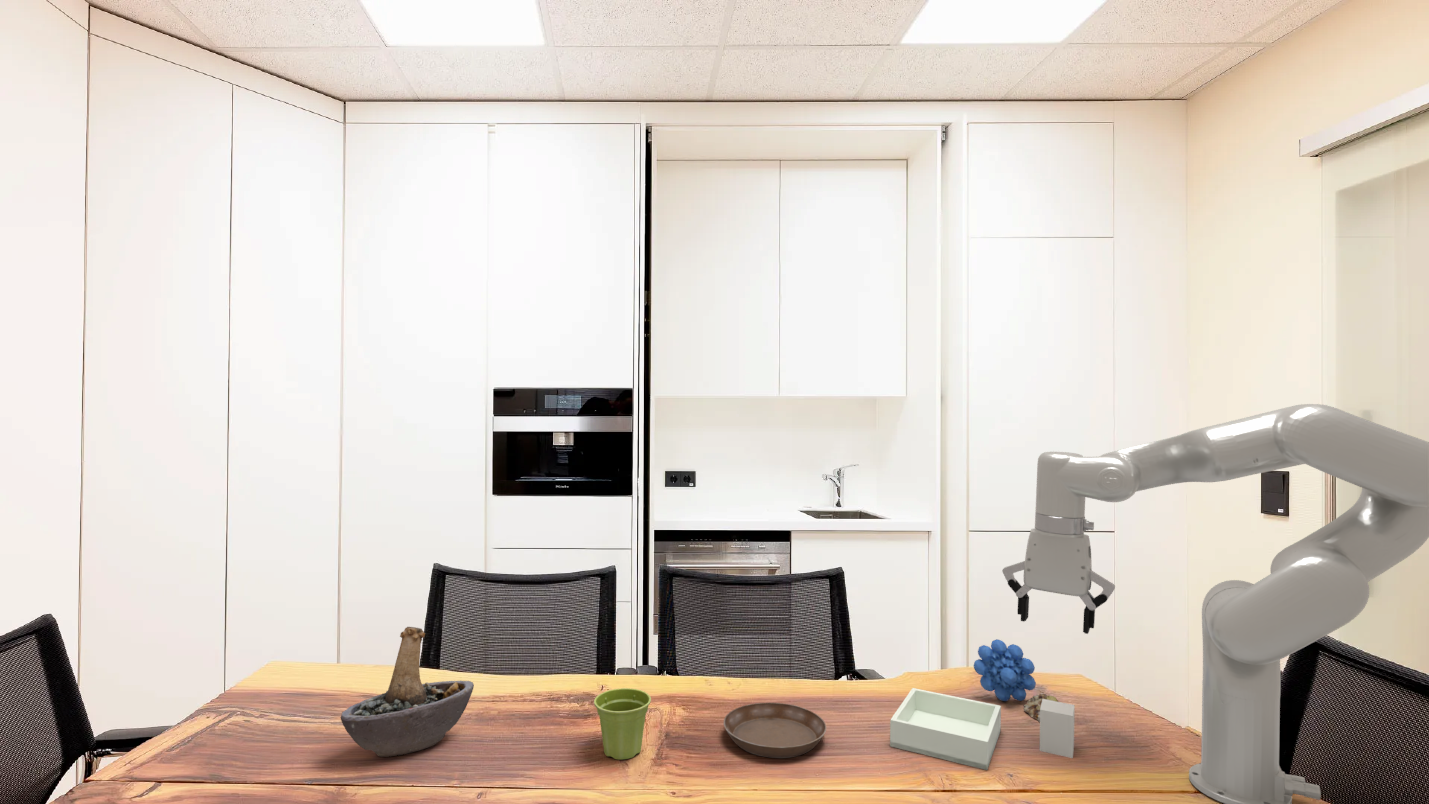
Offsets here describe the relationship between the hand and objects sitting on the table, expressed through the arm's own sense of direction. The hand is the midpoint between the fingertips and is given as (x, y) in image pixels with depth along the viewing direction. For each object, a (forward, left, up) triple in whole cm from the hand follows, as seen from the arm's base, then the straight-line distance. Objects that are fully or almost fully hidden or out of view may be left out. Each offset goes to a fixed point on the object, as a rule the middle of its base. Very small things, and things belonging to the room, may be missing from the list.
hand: (1054, 625), depth 122 cm
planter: (+93, +55, -21) cm, 110 cm away
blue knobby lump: (+9, -15, -21) cm, 28 cm away
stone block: (-1, 0, -21) cm, 21 cm away
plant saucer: (+42, +21, -21) cm, 52 cm away
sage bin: (+16, +6, -21) cm, 27 cm away
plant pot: (+62, +38, -21) cm, 76 cm away
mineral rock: (+2, -13, -21) cm, 25 cm away
